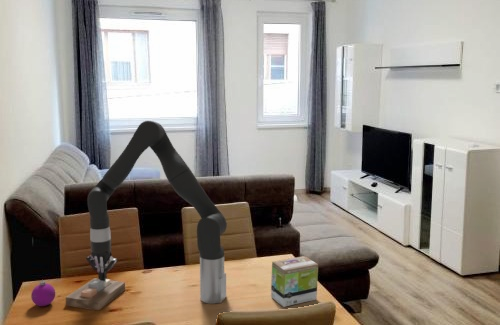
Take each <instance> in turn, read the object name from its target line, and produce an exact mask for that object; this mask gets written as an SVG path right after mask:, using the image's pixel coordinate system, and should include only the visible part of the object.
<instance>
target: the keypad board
mask: <svg viewBox="0 0 500 325" xmlns="http://www.w3.org/2000/svg"><path fill="white" fill-rule="evenodd" d="M94 279H95V280H100V279H99V278H95V277H94V278H92V279H91V280H89V281H88V282H86V283H85V284H84V285H82V286H80V287H78V289H76V290H74V291H73V292H72V293H69V294H68V295H67V296H65V306H69V307H74V308H80V309H87V310H93V311H100V310H101V309H103V308H104V307H105V306H107V305H109V303H111V302H112V301H113V300H115V299H116V298H117V297H118V296H119V295H121V294H122V293H123V292H125V291H126V282H125V281H124V282H123V281H117V280H112V279H110V285H109V286H107V287H106V288H105V289H103V290H102V291H100V292H98V293H97V294H96V295H95V296H93V297H92V298H86V297H81V292H82V291H83V290H85V289H86V288H88V283H90V282H91V281H93V280H94Z"/></svg>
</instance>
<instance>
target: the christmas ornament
mask: <svg viewBox="0 0 500 325" xmlns="http://www.w3.org/2000/svg"><path fill="white" fill-rule="evenodd" d="M30 297H31V300H32V303H34V304H35V305H36V306H38V307H46V306H48V305H50V304H51V303H52V302H53V301H54V299H55V298H56V290H55V287H54V286H53V285H51V284H50V283H47V282H46V281H45V280H43V279H42V280H41V281H40V282H39V284H38V285H35V287H34V288H33V289H32V292H31V296H30Z"/></svg>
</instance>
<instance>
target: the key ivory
mask: <svg viewBox="0 0 500 325" xmlns="http://www.w3.org/2000/svg"><path fill="white" fill-rule="evenodd" d="M110 280H111V279H109V278H107V279H106V280H105V281H104V289H105V288H106V287H107V286H109V285H110ZM101 291H102V290H101Z"/></svg>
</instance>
